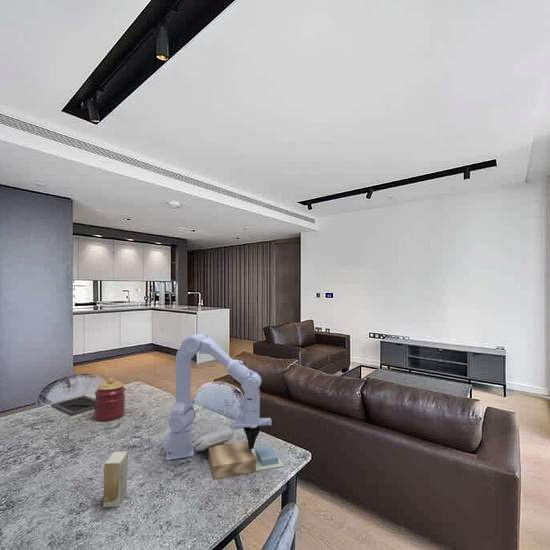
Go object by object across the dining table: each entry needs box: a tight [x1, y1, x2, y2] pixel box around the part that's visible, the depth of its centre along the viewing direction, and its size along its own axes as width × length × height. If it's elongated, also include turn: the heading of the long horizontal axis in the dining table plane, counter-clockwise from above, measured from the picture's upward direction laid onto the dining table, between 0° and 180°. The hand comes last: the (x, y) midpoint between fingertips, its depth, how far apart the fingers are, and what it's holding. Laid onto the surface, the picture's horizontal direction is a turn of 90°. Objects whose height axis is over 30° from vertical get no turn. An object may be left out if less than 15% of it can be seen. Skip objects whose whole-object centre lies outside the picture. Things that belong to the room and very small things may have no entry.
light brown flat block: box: [208, 440, 257, 480], centre depth 108 cm, size 14×13×4 cm
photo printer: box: [194, 427, 234, 452], centre depth 117 cm, size 10×4×12 cm
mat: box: [251, 448, 285, 472], centre depth 112 cm, size 10×13×1 cm
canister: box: [93, 377, 126, 422], centre depth 148 cm, size 13×13×18 cm
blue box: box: [254, 444, 279, 466], centre depth 112 cm, size 6×9×2 cm, turn 18°
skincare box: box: [102, 451, 129, 508], centre depth 90 cm, size 6×4×12 cm
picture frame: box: [50, 395, 95, 417], centre depth 159 cm, size 16×2×21 cm
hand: (250, 447), depth 111 cm, fingers closed
